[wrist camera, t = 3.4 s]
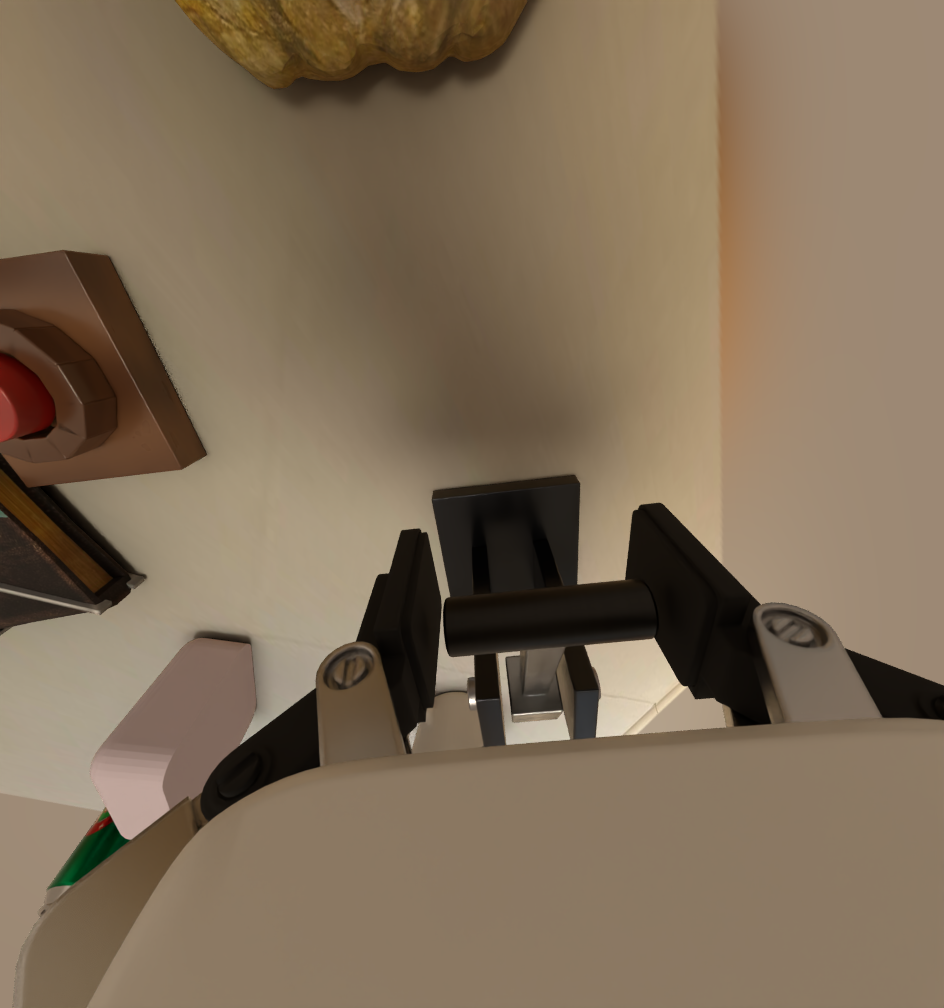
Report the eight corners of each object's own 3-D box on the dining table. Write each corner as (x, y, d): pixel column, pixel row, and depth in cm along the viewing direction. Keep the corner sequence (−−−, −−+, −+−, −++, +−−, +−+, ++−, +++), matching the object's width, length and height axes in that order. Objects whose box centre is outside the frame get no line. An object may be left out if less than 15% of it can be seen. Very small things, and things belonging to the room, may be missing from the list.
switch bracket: (433, 490, 23) (407, 640, 13) (575, 474, 23) (664, 616, 13) (458, 624, 29) (454, 802, 19) (572, 613, 29) (631, 788, 18)
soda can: (219, 754, 37) (123, 930, 27) (166, 751, 37) (48, 929, 27) (208, 725, 35) (98, 906, 25) (152, 722, 35) (16, 905, 24)
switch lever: (441, 571, 9) (443, 671, 8) (638, 551, 9) (675, 650, 8) (479, 672, 19) (483, 725, 18) (575, 663, 19) (587, 716, 18)
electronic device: (188, 627, 29) (66, 769, 20) (250, 635, 29) (158, 777, 21) (204, 703, 34) (111, 846, 25) (257, 709, 34) (184, 851, 25)
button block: (-71, 281, 18) (-205, 276, 14) (108, 255, 17) (17, 243, 14) (65, 471, 22) (-10, 503, 19) (207, 455, 22) (158, 484, 18)
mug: (368, 693, 33) (333, 833, 24) (438, 651, 31) (427, 791, 22) (452, 746, 37) (447, 882, 29) (518, 713, 35) (536, 851, 26)
